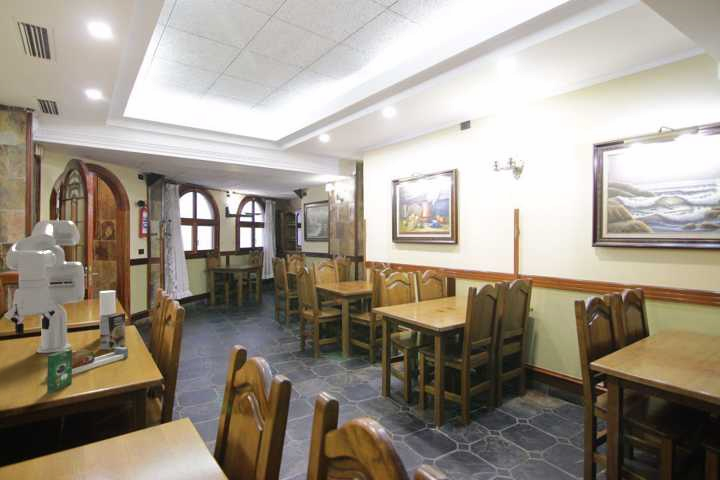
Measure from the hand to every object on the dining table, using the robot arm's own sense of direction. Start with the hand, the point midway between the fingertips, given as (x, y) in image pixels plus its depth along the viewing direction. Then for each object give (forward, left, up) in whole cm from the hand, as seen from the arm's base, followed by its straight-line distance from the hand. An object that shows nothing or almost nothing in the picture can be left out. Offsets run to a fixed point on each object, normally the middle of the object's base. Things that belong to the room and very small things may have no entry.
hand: (33, 331), depth 136 cm
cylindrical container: (-38, +51, -20) cm, 67 cm away
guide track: (0, +19, -20) cm, 27 cm away
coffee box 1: (+13, +2, -20) cm, 24 cm away
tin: (0, +13, -20) cm, 24 cm away
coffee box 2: (-18, +41, -20) cm, 49 cm away
